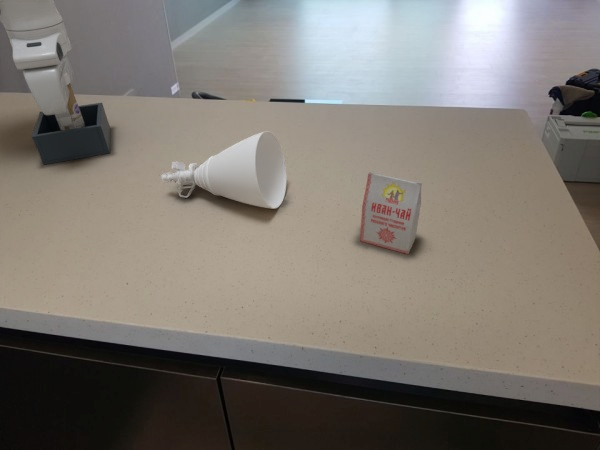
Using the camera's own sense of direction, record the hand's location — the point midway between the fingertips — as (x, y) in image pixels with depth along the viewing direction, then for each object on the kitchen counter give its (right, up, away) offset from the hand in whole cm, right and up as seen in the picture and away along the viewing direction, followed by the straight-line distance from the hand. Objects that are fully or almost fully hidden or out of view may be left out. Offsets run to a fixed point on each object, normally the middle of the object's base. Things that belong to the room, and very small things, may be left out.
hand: (69, 118), depth 86 cm
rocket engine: (+32, -15, -11) cm, 37 cm away
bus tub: (0, -4, +3) cm, 6 cm away
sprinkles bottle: (0, -4, +3) cm, 5 cm away
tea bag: (+56, -22, -22) cm, 64 cm away
